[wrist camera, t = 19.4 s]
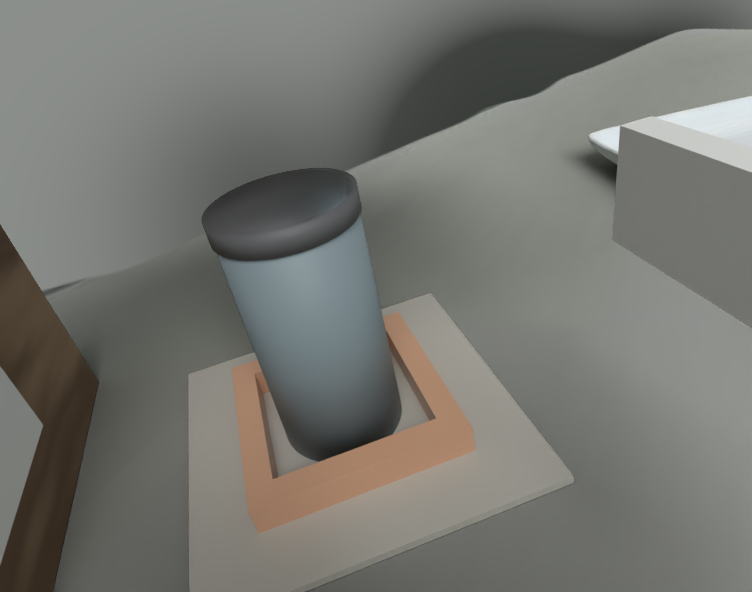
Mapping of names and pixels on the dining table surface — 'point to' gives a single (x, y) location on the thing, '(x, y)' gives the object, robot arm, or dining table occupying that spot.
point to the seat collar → (355, 466)
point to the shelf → (55, 411)
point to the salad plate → (693, 125)
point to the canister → (309, 306)
